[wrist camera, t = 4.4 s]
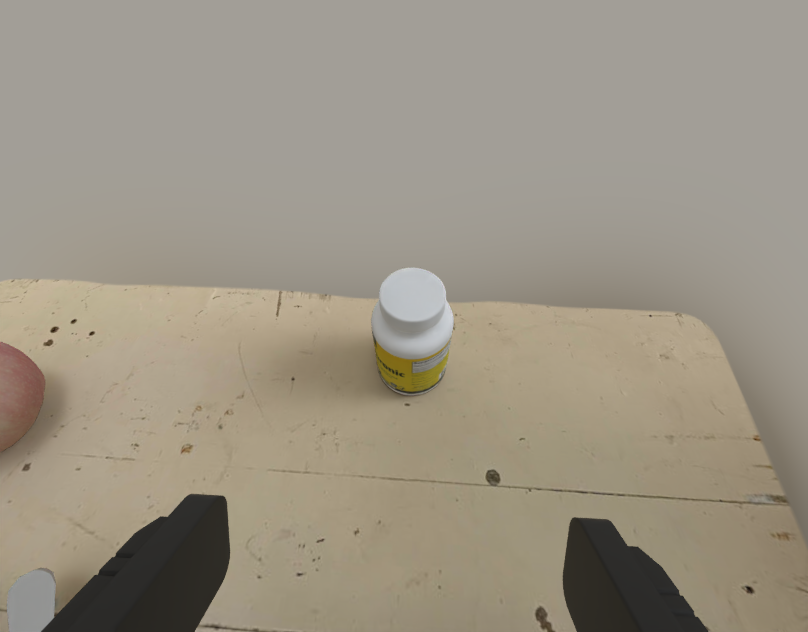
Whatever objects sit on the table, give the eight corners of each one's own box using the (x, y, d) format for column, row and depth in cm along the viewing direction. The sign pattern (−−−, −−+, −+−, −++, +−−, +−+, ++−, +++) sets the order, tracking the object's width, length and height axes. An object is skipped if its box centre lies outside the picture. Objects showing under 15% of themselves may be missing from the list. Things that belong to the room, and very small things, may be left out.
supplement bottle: (366, 352, 32) (353, 275, 24) (425, 327, 34) (431, 246, 25) (395, 410, 30) (391, 345, 21) (458, 380, 31) (477, 308, 23)
